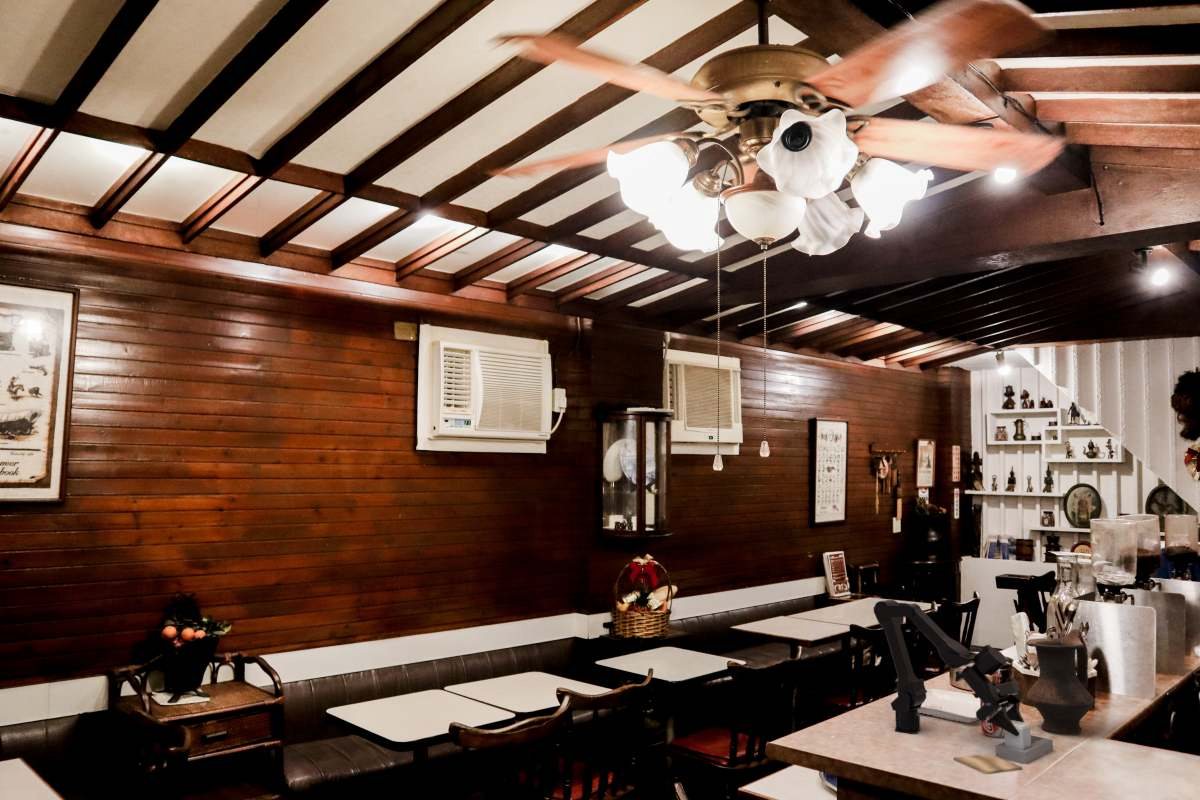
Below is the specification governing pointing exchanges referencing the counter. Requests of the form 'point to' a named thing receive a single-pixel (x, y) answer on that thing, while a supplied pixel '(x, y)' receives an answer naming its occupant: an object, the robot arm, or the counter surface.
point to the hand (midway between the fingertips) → (1022, 733)
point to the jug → (1061, 683)
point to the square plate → (951, 705)
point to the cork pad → (987, 763)
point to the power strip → (1025, 756)
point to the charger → (1019, 736)
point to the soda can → (991, 727)
